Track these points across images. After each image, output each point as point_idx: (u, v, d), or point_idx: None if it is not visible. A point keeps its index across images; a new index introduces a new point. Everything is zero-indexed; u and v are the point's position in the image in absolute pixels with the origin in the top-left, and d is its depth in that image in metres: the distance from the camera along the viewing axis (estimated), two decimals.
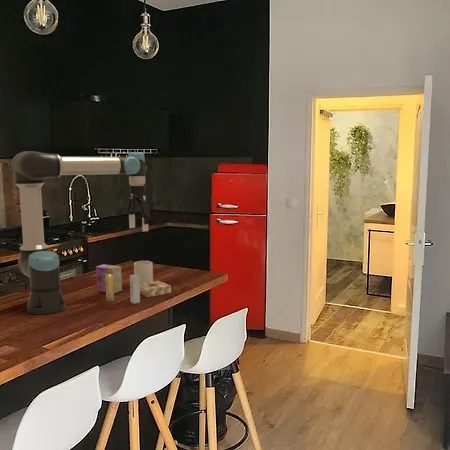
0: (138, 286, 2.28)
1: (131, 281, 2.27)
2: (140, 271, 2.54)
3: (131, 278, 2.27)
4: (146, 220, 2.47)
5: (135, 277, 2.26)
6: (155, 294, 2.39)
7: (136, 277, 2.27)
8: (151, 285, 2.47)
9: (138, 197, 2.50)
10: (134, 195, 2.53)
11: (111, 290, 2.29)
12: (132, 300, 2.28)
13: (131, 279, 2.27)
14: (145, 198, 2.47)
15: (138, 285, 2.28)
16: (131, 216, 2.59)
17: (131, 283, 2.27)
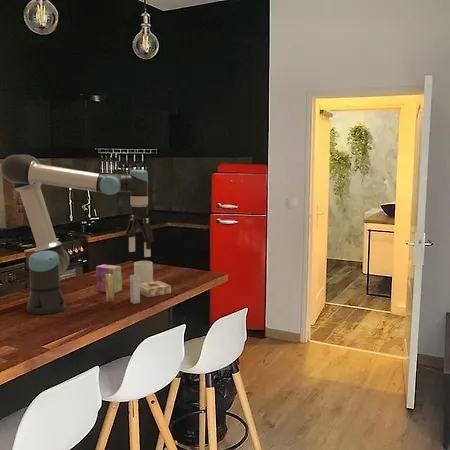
0: (138, 286, 2.28)
1: (131, 281, 2.27)
2: (140, 271, 2.54)
3: (131, 278, 2.27)
4: (149, 245, 2.25)
5: (135, 277, 2.26)
6: (155, 294, 2.39)
7: (136, 277, 2.27)
8: (151, 285, 2.47)
9: (140, 219, 2.28)
10: (135, 217, 2.31)
11: (111, 290, 2.29)
12: (132, 300, 2.28)
13: (131, 279, 2.27)
14: (148, 221, 2.26)
15: (138, 285, 2.28)
16: (131, 239, 2.37)
17: (131, 283, 2.27)
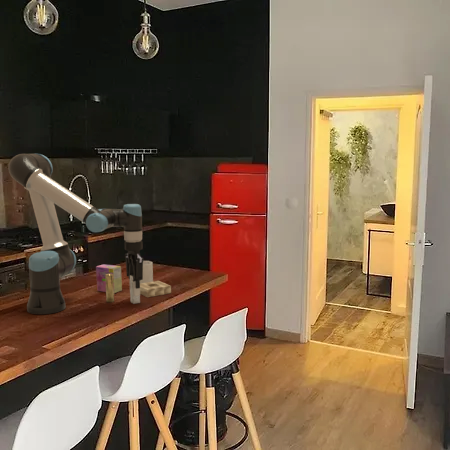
0: None
1: (131, 281, 2.27)
2: None
3: (131, 278, 2.27)
4: (138, 284, 2.25)
5: None
6: (155, 294, 2.39)
7: None
8: (151, 285, 2.47)
9: (134, 254, 2.23)
10: None
11: (111, 290, 2.29)
12: (132, 300, 2.28)
13: (131, 279, 2.27)
14: (141, 261, 2.22)
15: None
16: None
17: (131, 283, 2.27)
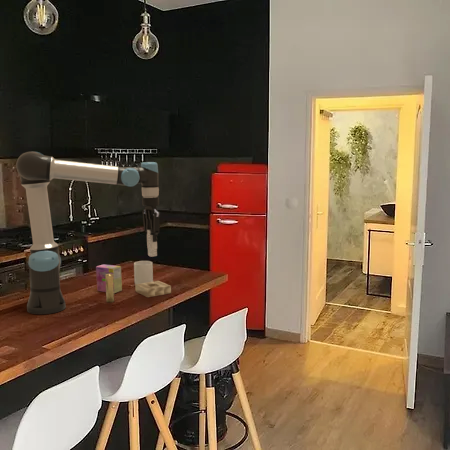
0: None
1: (148, 235, 2.40)
2: (140, 271, 2.54)
3: (148, 232, 2.40)
4: (155, 237, 2.38)
5: None
6: (155, 294, 2.39)
7: None
8: (151, 285, 2.47)
9: (151, 209, 2.36)
10: (146, 205, 2.40)
11: (111, 290, 2.29)
12: (149, 253, 2.41)
13: (148, 233, 2.40)
14: (158, 215, 2.35)
15: None
16: None
17: (148, 237, 2.40)
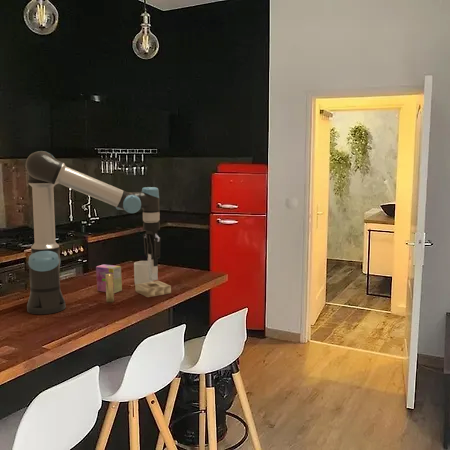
0: None
1: (149, 259, 2.42)
2: (140, 271, 2.54)
3: (149, 256, 2.42)
4: (155, 262, 2.41)
5: None
6: (155, 294, 2.39)
7: None
8: (151, 285, 2.47)
9: (152, 234, 2.39)
10: None
11: (111, 290, 2.29)
12: (150, 277, 2.43)
13: (149, 257, 2.42)
14: (159, 240, 2.37)
15: None
16: None
17: (149, 261, 2.43)
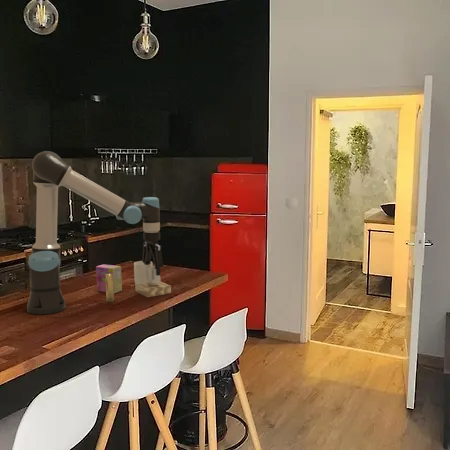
0: None
1: (150, 272, 2.43)
2: (140, 271, 2.54)
3: (150, 270, 2.43)
4: (158, 271, 2.39)
5: None
6: (155, 294, 2.39)
7: None
8: None
9: (152, 244, 2.39)
10: (148, 240, 2.43)
11: (111, 290, 2.29)
12: None
13: (150, 270, 2.43)
14: (160, 248, 2.37)
15: None
16: (147, 266, 2.47)
17: (150, 274, 2.43)
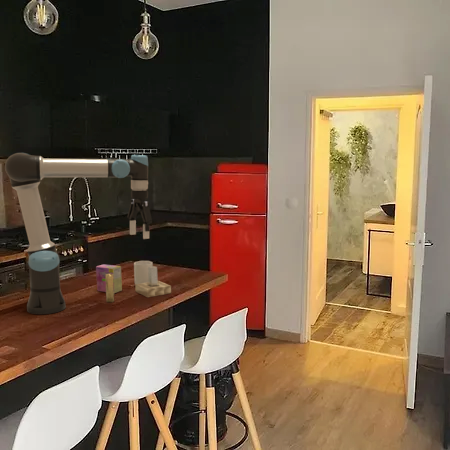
0: (156, 277, 2.44)
1: (149, 272, 2.43)
2: (140, 271, 2.54)
3: (149, 270, 2.43)
4: (147, 227, 2.34)
5: (153, 269, 2.42)
6: (155, 294, 2.39)
7: (154, 269, 2.43)
8: None
9: (140, 202, 2.36)
10: (136, 200, 2.39)
11: (111, 290, 2.29)
12: None
13: (149, 270, 2.43)
14: (147, 204, 2.34)
15: (156, 276, 2.44)
16: (132, 222, 2.45)
17: (149, 274, 2.43)
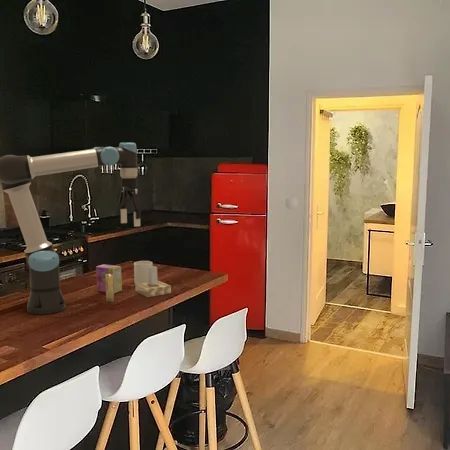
0: (156, 277, 2.44)
1: (149, 272, 2.43)
2: (140, 271, 2.54)
3: (149, 270, 2.43)
4: (138, 214, 2.33)
5: (153, 269, 2.42)
6: (155, 294, 2.39)
7: (154, 269, 2.43)
8: None
9: (130, 190, 2.35)
10: (126, 188, 2.38)
11: (111, 290, 2.29)
12: None
13: (149, 270, 2.43)
14: (137, 191, 2.33)
15: (156, 276, 2.44)
16: (123, 210, 2.45)
17: (149, 274, 2.43)
